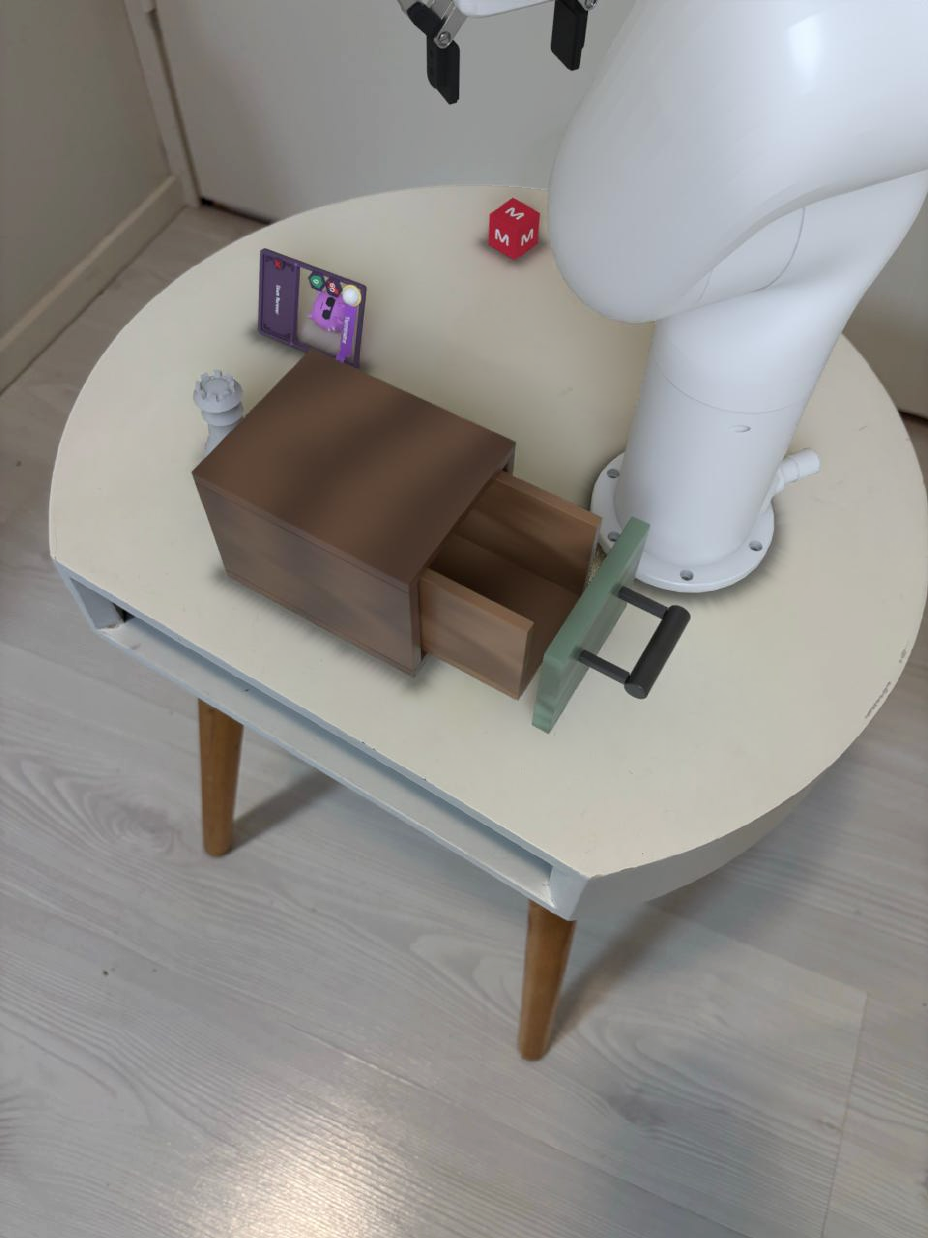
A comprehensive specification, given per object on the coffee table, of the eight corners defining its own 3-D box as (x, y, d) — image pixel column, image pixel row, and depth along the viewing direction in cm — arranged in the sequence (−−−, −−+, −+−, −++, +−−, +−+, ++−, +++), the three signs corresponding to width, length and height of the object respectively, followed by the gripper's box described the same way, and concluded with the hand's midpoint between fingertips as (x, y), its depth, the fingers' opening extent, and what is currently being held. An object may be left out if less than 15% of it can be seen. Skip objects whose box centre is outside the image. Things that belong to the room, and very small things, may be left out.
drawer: (687, 636, 62) (720, 556, 54) (613, 769, 57) (638, 702, 49) (447, 518, 66) (447, 429, 58) (360, 632, 61) (348, 551, 54)
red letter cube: (537, 243, 83) (540, 212, 80) (514, 260, 81) (516, 229, 79) (511, 227, 84) (513, 196, 81) (488, 244, 82) (489, 213, 80)
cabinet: (507, 547, 66) (516, 441, 57) (414, 678, 61) (408, 585, 52) (329, 460, 70) (311, 347, 61) (227, 576, 65) (190, 471, 55)
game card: (254, 250, 71) (359, 290, 69) (293, 233, 75) (394, 269, 73) (252, 335, 76) (350, 374, 74) (289, 314, 80) (384, 351, 78)
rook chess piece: (258, 493, 68) (236, 414, 61) (197, 482, 69) (170, 403, 62) (276, 446, 70) (258, 364, 64) (218, 436, 71) (193, 354, 64)
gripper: (411, -169, 51) (418, 136, 65) (688, -224, 55) (636, 75, 70) (355, -225, 54) (373, 78, 69) (620, -273, 58) (583, 23, 73)
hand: (505, 76), depth 69 cm, fingers open, 9 cm apart
